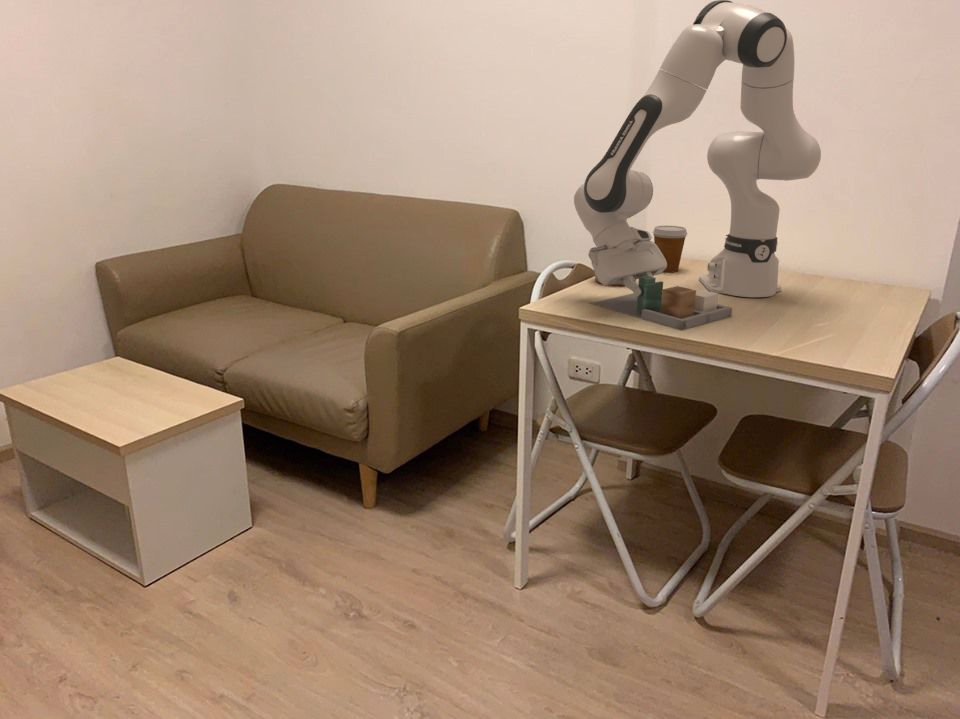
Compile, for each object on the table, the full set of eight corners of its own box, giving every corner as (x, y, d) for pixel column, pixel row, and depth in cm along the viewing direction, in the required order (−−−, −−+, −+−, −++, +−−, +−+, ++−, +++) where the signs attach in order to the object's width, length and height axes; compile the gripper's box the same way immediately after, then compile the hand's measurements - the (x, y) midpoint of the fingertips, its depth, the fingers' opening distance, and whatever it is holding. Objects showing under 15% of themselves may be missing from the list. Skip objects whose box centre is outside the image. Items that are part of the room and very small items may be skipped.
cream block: (683, 314, 173) (686, 292, 172) (697, 310, 176) (699, 289, 175) (702, 319, 170) (704, 297, 168) (716, 315, 172) (718, 293, 171)
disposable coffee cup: (687, 273, 214) (692, 231, 210) (653, 273, 214) (657, 230, 210) (678, 266, 223) (682, 225, 219) (646, 266, 223) (649, 225, 219)
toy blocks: (631, 312, 174) (634, 278, 171) (648, 308, 177) (650, 274, 175) (677, 325, 165) (681, 289, 162) (693, 321, 168) (697, 285, 165)
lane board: (588, 305, 182) (589, 295, 181) (638, 294, 192) (639, 284, 191) (681, 332, 162) (682, 321, 161) (731, 318, 172) (732, 307, 171)
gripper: (593, 240, 169) (623, 292, 165) (654, 231, 181) (683, 279, 177) (577, 257, 173) (607, 308, 169) (638, 247, 185) (666, 294, 181)
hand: (646, 293), depth 173 cm, fingers closed on toy blocks, 3 cm apart
